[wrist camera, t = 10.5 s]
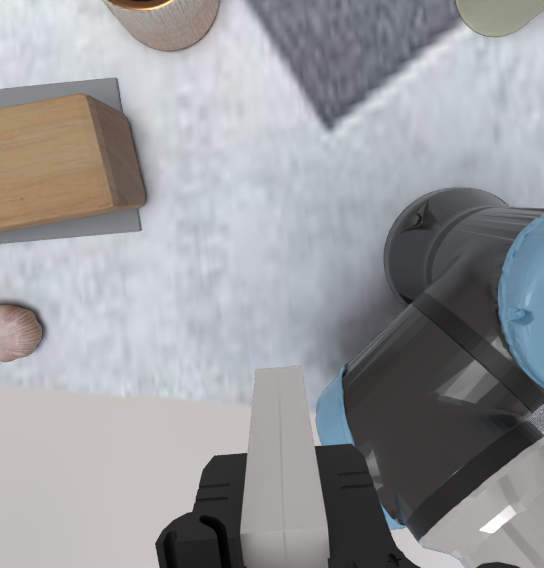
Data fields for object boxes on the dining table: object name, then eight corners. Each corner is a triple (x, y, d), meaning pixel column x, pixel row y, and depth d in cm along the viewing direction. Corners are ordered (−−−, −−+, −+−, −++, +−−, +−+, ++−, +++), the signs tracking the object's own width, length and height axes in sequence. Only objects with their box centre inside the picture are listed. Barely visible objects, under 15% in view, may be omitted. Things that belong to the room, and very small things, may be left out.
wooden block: (150, 205, 45) (-22, 236, 46) (128, 111, 43) (-52, 145, 44) (117, 209, 35) (-101, 248, 36) (86, 87, 33) (-145, 131, 34)
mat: (117, 79, 43) (115, 77, 42) (141, 230, 46) (139, 230, 46) (-68, 97, 43) (-73, 96, 43) (-30, 246, 47) (-34, 246, 46)
